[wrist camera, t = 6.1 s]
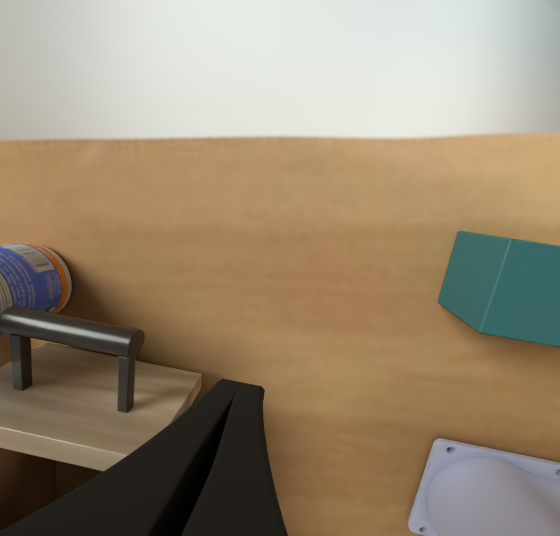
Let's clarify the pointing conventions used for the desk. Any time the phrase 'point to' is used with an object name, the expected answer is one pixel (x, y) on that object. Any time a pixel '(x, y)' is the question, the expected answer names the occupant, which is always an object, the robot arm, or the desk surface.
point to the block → (505, 287)
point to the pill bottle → (33, 278)
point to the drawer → (76, 405)
